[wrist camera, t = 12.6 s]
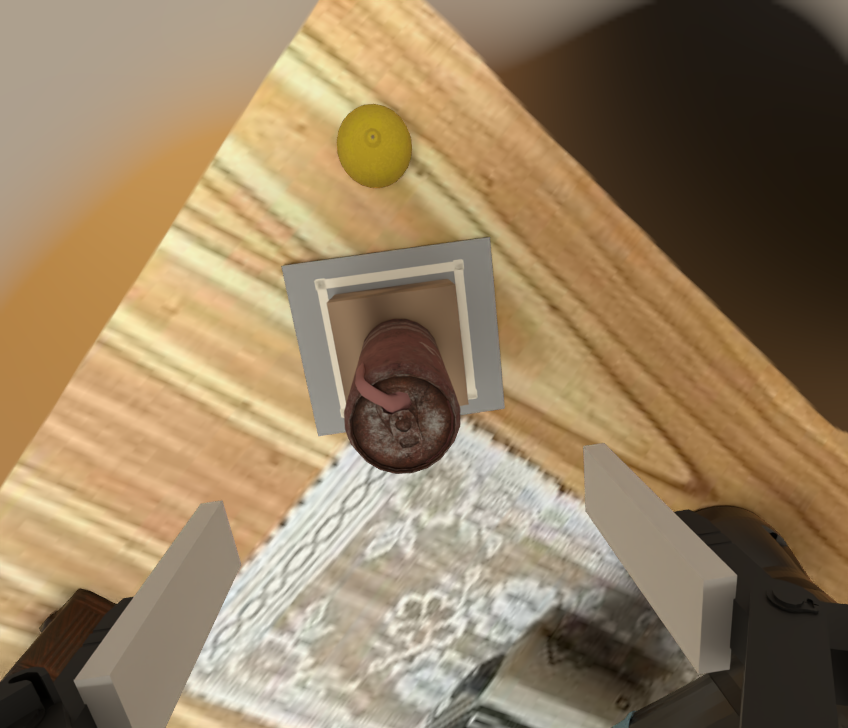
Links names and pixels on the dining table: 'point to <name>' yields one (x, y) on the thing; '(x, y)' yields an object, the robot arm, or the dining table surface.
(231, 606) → the dining table surface
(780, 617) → the robot arm
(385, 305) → the walnut plinth
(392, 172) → the lemon
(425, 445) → the can
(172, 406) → the dining table surface
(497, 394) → the grey base plate
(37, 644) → the manual coffee grinder
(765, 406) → the dining table surface
